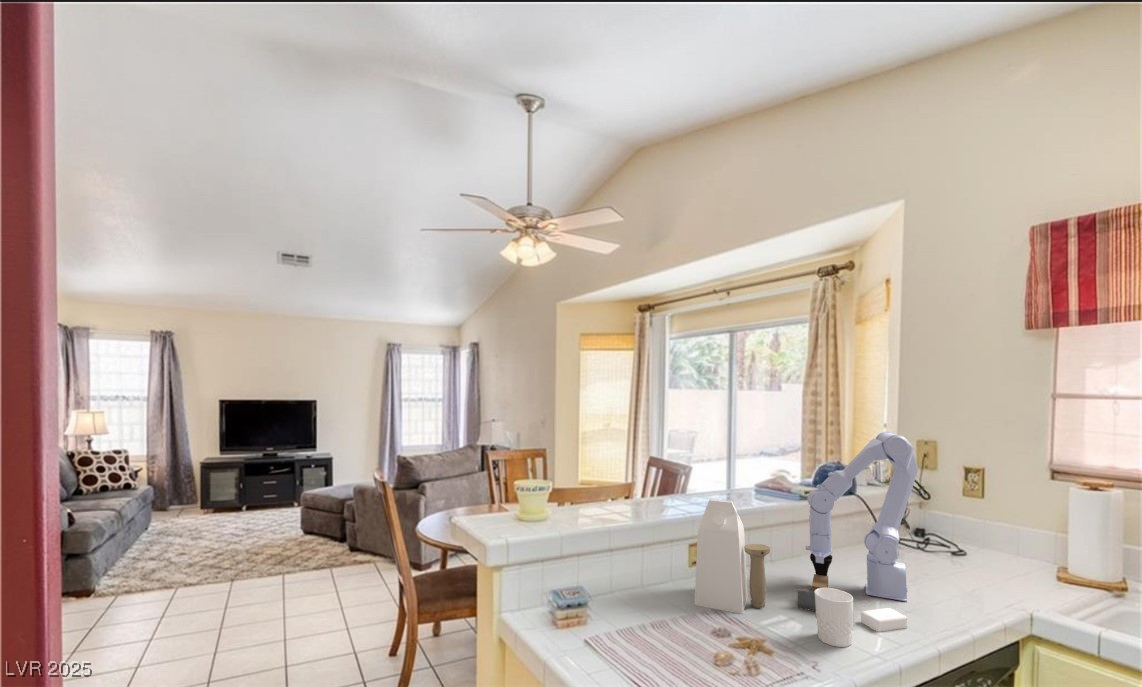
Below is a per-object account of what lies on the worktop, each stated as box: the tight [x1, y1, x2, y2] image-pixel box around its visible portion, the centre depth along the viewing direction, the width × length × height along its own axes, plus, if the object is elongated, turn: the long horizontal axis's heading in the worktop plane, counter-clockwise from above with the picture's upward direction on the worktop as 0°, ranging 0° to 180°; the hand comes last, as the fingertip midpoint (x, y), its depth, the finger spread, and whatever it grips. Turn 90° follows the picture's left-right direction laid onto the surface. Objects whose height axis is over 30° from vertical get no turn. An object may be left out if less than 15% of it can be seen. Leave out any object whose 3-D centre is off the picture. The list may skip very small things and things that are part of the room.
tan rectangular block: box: [811, 573, 829, 592], centre depth 144 cm, size 10×4×4 cm, turn 152°
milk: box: [694, 498, 749, 615], centre depth 140 cm, size 12×12×26 cm
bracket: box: [797, 587, 816, 612], centre depth 136 cm, size 6×10×4 cm
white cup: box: [815, 587, 854, 648], centre depth 119 cm, size 8×8×10 cm
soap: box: [860, 607, 908, 633], centre depth 126 cm, size 9×6×3 cm, turn 105°
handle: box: [744, 543, 771, 609], centre depth 136 cm, size 5×6×15 cm
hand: (821, 581), depth 149 cm, fingers closed
